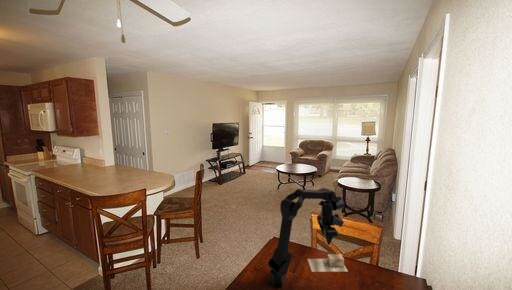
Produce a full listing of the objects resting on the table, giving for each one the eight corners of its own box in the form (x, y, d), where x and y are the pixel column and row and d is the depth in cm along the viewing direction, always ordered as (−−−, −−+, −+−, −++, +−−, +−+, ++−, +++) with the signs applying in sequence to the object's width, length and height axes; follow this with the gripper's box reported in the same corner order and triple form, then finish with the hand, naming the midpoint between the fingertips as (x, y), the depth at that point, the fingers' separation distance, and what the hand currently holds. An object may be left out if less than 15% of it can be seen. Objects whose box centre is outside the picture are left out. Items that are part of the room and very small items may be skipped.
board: (311, 273, 109) (312, 271, 109) (307, 260, 119) (307, 258, 119) (347, 273, 109) (348, 271, 109) (340, 260, 119) (340, 258, 119)
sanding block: (330, 267, 112) (330, 259, 111) (327, 262, 116) (327, 254, 115) (343, 267, 112) (344, 259, 111) (340, 262, 116) (340, 254, 115)
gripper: (349, 220, 106) (347, 250, 108) (336, 205, 125) (335, 231, 127) (326, 220, 107) (325, 250, 109) (316, 205, 125) (316, 230, 127)
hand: (326, 239), depth 118 cm, fingers open, 9 cm apart
